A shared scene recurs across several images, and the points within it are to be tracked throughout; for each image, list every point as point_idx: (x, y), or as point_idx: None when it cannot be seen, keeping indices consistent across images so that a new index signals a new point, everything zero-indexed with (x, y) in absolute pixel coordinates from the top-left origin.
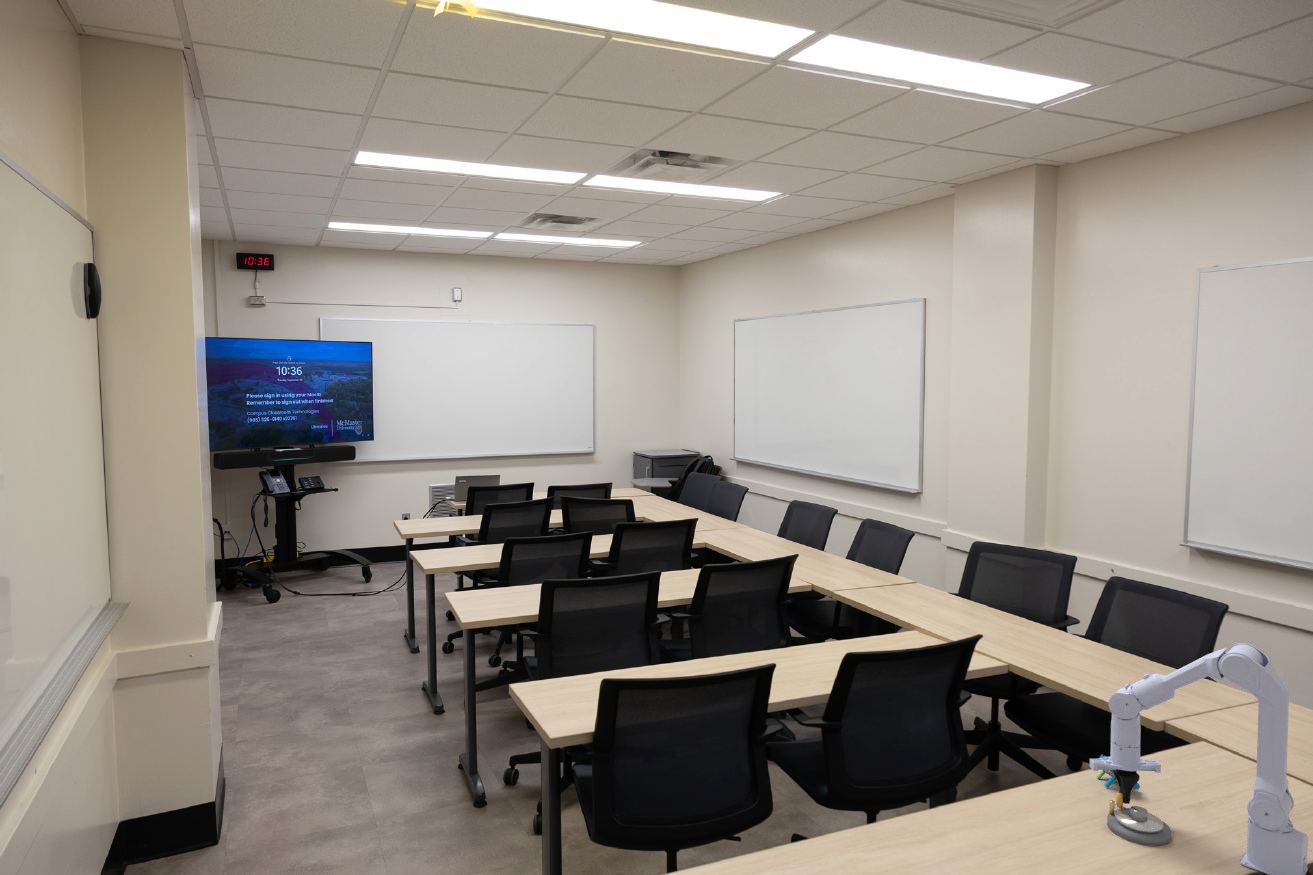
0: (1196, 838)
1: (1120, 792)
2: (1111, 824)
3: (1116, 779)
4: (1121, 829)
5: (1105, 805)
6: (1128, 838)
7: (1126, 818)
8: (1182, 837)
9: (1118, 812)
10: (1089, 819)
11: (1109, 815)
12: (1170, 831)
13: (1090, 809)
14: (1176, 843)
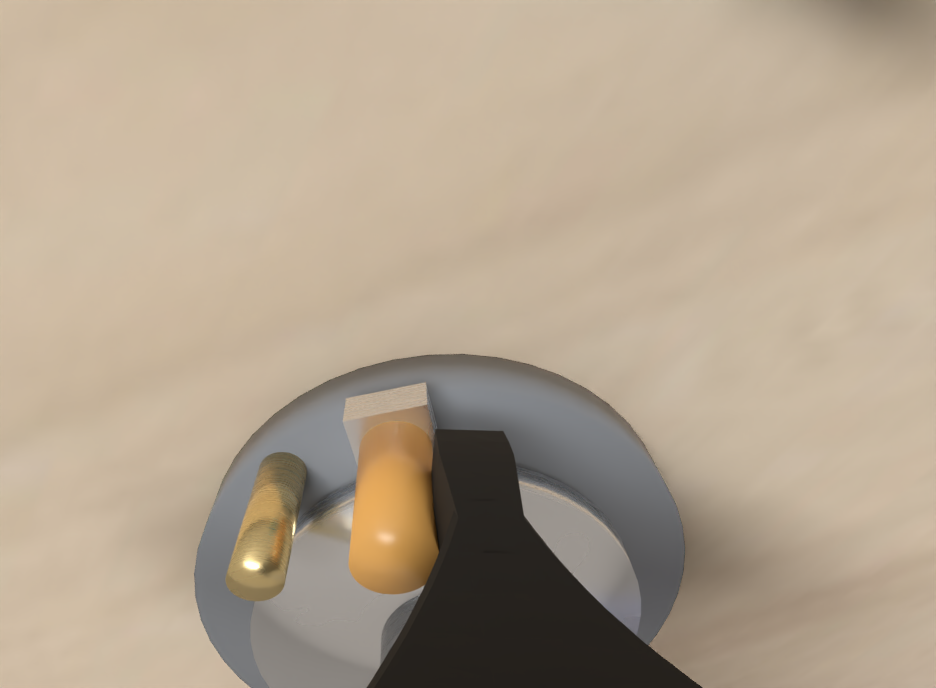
0: (786, 608)
1: (440, 508)
2: (199, 604)
3: (414, 608)
4: (248, 665)
5: (387, 136)
6: None
7: (332, 641)
8: (702, 603)
9: (310, 562)
10: (79, 413)
11: (248, 487)
12: None
13: (162, 226)
14: None
